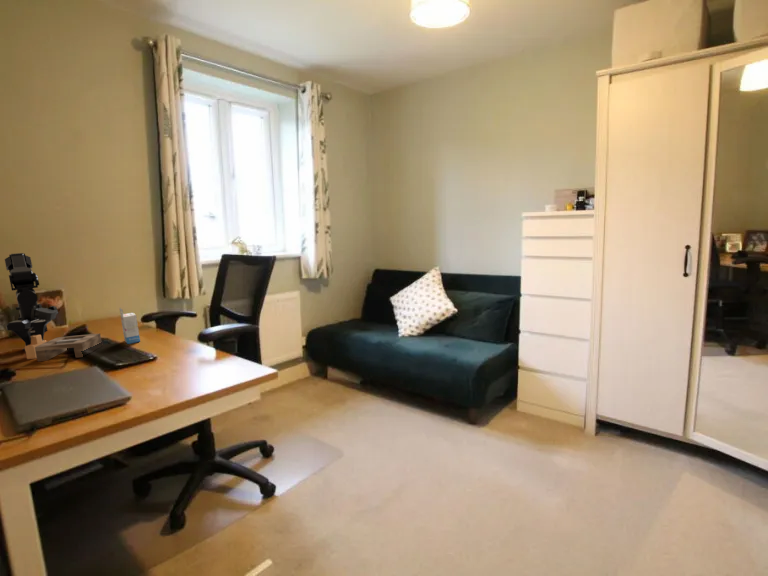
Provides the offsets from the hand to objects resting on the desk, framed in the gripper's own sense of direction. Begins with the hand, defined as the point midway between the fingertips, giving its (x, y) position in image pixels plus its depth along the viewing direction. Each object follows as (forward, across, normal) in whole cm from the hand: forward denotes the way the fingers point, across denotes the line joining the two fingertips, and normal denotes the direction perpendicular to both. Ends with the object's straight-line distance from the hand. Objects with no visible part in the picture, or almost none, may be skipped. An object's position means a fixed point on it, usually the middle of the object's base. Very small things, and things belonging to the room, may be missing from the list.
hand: (35, 342), depth 164 cm
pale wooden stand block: (+6, 0, 0) cm, 6 cm away
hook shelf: (+6, -2, -13) cm, 14 cm away
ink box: (+6, +9, -31) cm, 33 cm away
